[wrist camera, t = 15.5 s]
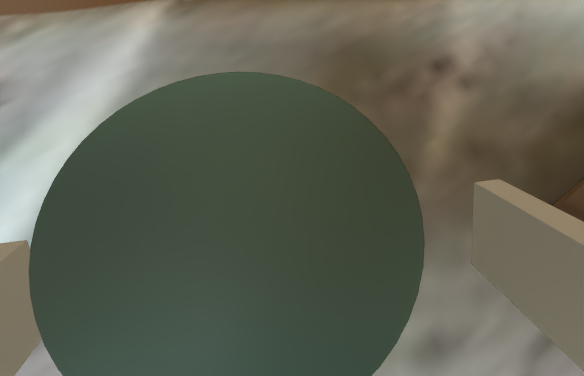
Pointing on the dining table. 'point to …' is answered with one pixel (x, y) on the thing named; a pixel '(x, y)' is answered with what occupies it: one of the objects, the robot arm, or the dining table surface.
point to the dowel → (228, 237)
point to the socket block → (573, 201)
